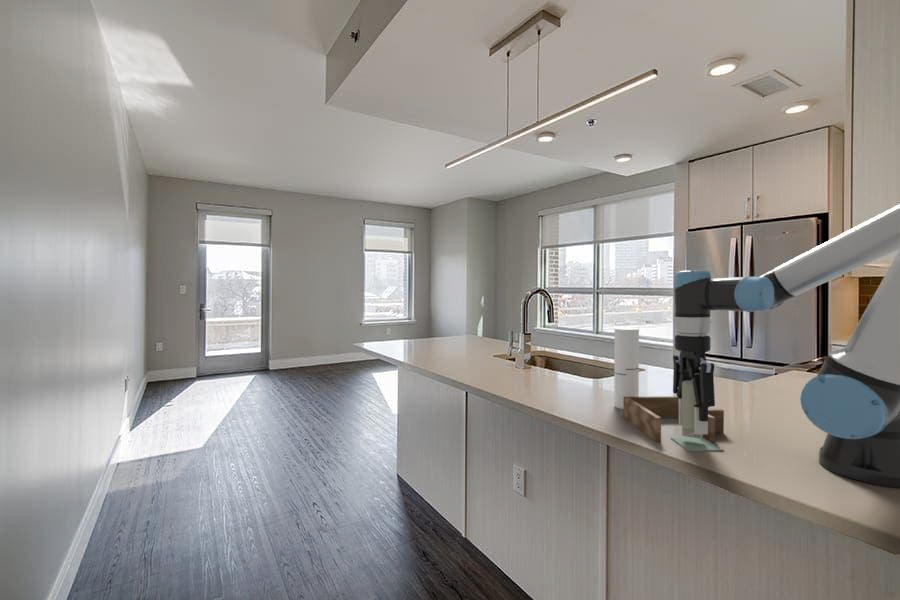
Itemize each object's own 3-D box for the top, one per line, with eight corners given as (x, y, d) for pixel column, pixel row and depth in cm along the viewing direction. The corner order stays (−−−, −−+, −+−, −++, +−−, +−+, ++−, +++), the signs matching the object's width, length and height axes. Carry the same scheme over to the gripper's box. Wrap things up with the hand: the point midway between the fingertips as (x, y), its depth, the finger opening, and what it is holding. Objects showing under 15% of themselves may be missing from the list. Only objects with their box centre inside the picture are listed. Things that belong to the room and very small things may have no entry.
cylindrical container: (641, 410, 131) (641, 329, 130) (616, 409, 133) (616, 329, 132) (635, 403, 138) (636, 327, 137) (612, 402, 140) (612, 327, 139)
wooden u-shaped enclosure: (738, 441, 104) (738, 417, 104) (656, 441, 105) (656, 417, 104) (692, 416, 124) (692, 396, 124) (623, 416, 125) (623, 396, 125)
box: (702, 439, 100) (702, 385, 99) (681, 436, 102) (681, 383, 102) (703, 433, 104) (703, 381, 104) (683, 430, 106) (682, 379, 106)
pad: (723, 451, 98) (723, 449, 98) (688, 451, 98) (688, 449, 98) (703, 438, 106) (703, 437, 106) (671, 438, 106) (671, 437, 106)
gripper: (734, 338, 93) (734, 443, 93) (686, 330, 112) (686, 417, 113) (699, 339, 93) (700, 443, 93) (657, 330, 112) (658, 417, 113)
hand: (692, 428), depth 103 cm, fingers closed on box, 6 cm apart
